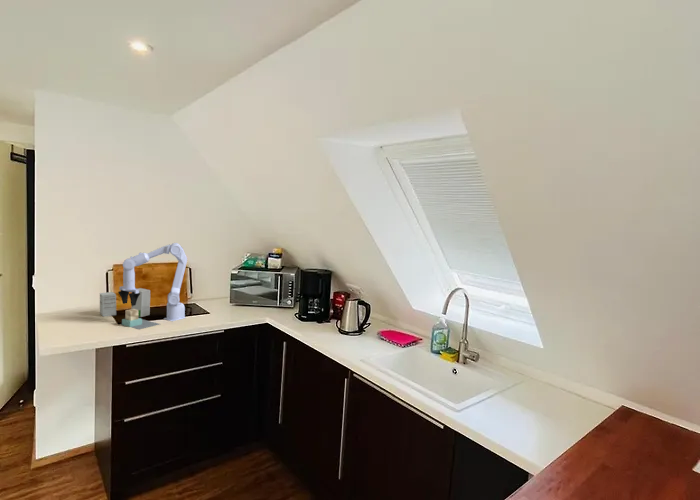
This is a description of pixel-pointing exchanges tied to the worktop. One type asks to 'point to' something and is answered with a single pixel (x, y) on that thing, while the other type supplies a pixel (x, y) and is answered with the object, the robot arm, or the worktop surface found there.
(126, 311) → the maple block
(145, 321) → the mat
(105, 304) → the supplement box
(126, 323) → the plinth
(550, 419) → the worktop surface
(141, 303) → the skincare box
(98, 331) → the worktop surface
